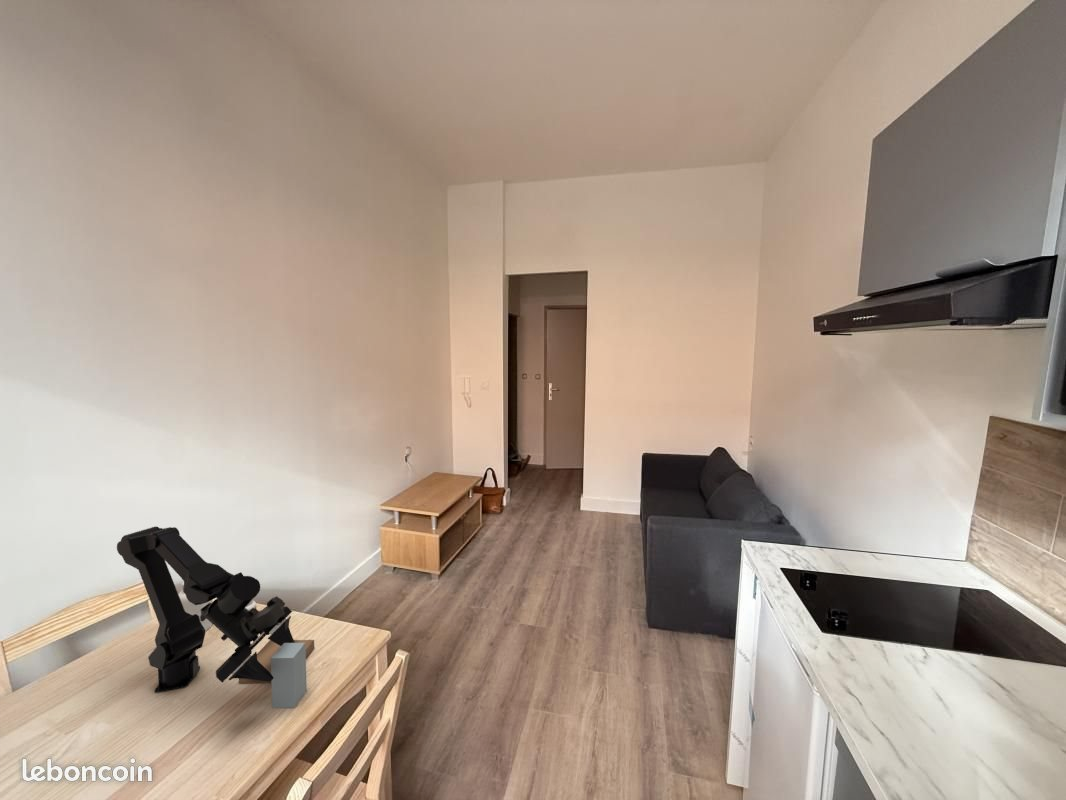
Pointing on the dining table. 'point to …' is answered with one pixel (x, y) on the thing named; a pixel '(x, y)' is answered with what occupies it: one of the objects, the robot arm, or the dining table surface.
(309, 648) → the walnut board
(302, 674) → the slate post
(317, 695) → the dining table surface
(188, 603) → the pill bottle
